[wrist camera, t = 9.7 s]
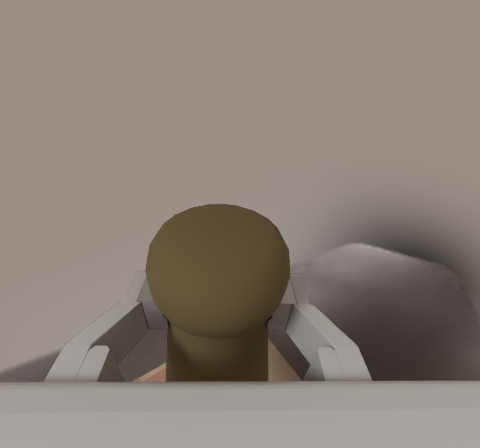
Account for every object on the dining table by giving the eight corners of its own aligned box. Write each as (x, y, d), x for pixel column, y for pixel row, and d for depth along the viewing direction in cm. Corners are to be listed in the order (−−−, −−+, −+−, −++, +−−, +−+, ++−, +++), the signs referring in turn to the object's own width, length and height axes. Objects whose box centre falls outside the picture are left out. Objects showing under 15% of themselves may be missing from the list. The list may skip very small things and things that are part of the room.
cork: (141, 388, 14) (80, 232, 7) (211, 313, 18) (210, 173, 12) (227, 477, 11) (244, 352, 5) (286, 365, 15) (337, 219, 9)
